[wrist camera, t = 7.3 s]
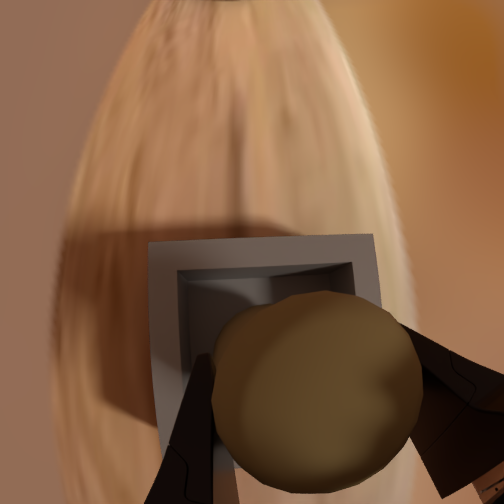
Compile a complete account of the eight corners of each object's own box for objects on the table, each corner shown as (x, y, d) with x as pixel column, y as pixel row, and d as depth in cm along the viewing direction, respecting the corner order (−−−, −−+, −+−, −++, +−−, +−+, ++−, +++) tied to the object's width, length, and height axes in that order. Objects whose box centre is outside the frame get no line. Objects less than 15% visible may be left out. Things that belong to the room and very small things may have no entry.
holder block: (352, 420, 18) (384, 442, 13) (177, 437, 17) (164, 467, 12) (342, 253, 21) (372, 233, 16) (166, 261, 20) (148, 241, 15)
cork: (211, 411, 15) (191, 535, 4) (213, 301, 16) (188, 253, 6) (321, 409, 15) (441, 495, 5) (323, 303, 17) (459, 262, 6)
